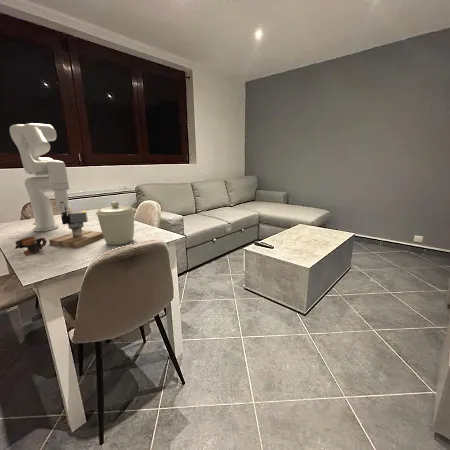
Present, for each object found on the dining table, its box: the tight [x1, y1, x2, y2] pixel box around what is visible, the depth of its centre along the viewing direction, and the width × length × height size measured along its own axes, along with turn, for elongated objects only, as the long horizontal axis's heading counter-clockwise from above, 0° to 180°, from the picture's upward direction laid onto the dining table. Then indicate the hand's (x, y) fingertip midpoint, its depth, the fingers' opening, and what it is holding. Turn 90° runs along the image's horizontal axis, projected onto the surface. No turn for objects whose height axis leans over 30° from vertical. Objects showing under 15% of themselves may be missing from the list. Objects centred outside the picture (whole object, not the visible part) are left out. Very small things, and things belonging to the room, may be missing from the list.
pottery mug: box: [14, 236, 48, 257], centre depth 116 cm, size 12×10×8 cm
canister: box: [95, 200, 136, 246], centre depth 124 cm, size 18×18×21 cm
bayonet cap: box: [60, 210, 89, 230], centre depth 128 cm, size 11×7×8 cm, turn 107°
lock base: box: [48, 227, 104, 249], centre depth 130 cm, size 18×18×7 cm
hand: (66, 222), depth 127 cm, fingers closed on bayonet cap, 3 cm apart
